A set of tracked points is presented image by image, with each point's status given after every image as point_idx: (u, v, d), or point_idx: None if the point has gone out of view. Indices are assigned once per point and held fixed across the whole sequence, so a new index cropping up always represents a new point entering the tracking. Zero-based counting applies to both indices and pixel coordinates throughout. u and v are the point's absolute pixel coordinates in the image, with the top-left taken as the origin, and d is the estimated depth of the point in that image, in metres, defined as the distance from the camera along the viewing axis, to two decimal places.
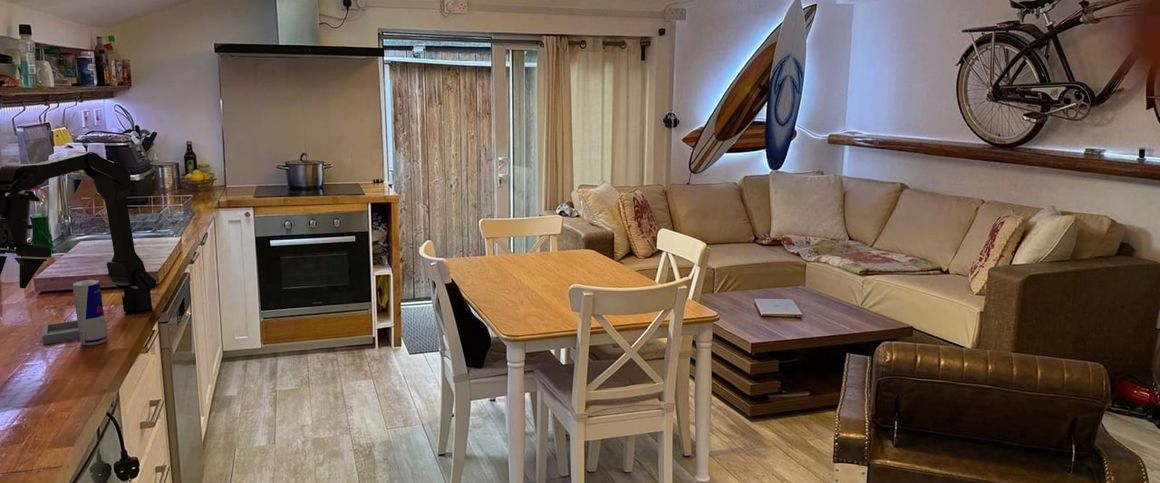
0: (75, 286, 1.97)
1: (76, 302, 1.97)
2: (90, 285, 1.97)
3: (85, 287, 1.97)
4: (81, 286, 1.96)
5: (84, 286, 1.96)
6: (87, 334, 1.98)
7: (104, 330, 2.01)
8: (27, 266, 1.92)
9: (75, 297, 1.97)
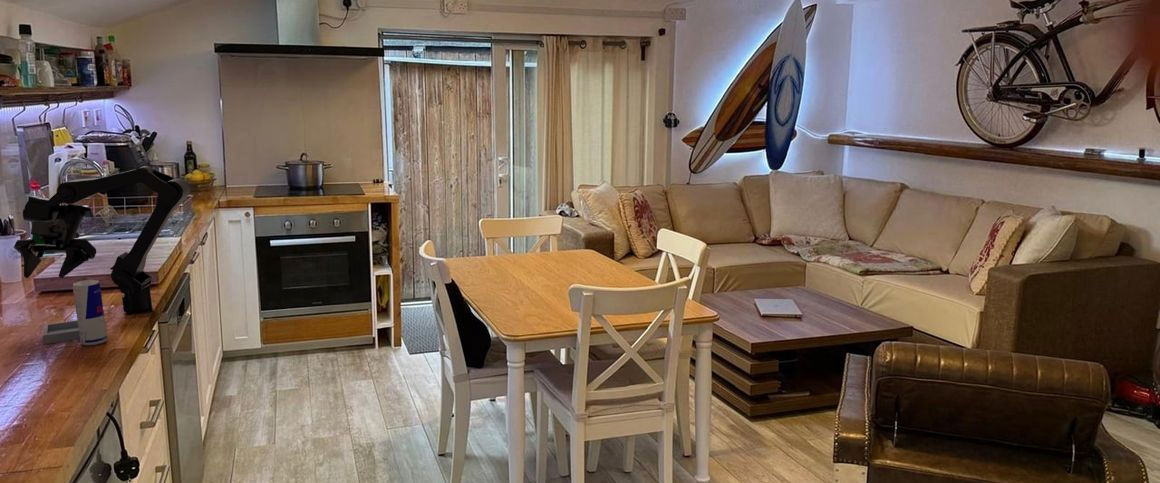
0: (75, 286, 1.97)
1: (76, 302, 1.97)
2: (90, 285, 1.97)
3: (85, 287, 1.97)
4: (81, 286, 1.96)
5: (84, 286, 1.96)
6: (87, 334, 1.98)
7: (104, 330, 2.01)
8: (71, 259, 2.13)
9: (75, 297, 1.97)
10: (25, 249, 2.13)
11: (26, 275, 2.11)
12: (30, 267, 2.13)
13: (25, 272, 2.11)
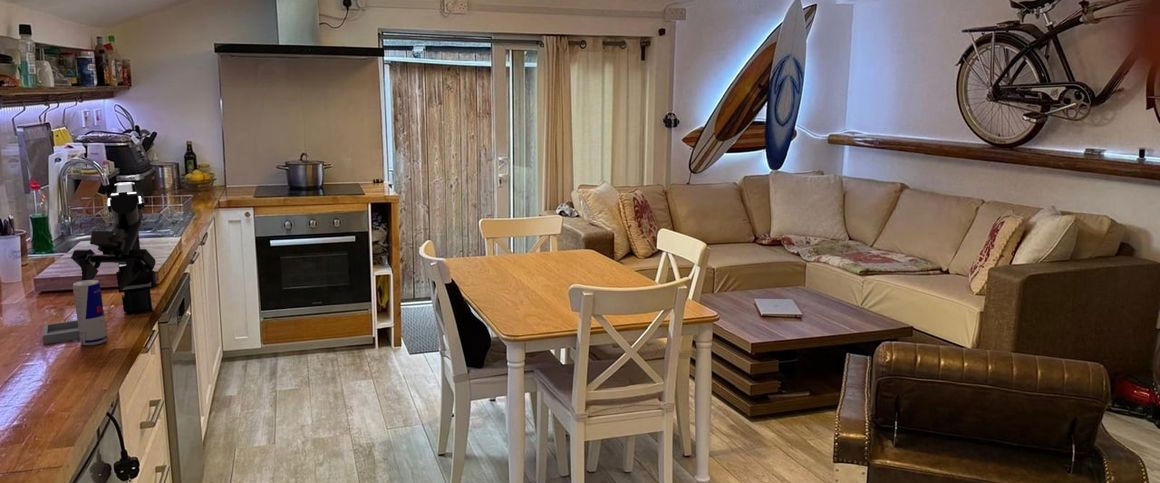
0: (75, 286, 1.97)
1: (76, 302, 1.97)
2: (90, 285, 1.97)
3: (85, 287, 1.97)
4: (81, 286, 1.96)
5: (84, 286, 1.96)
6: (87, 334, 1.98)
7: (104, 330, 2.01)
8: (131, 270, 2.07)
9: (75, 297, 1.97)
10: (83, 259, 2.06)
11: None
12: (88, 278, 2.06)
13: None
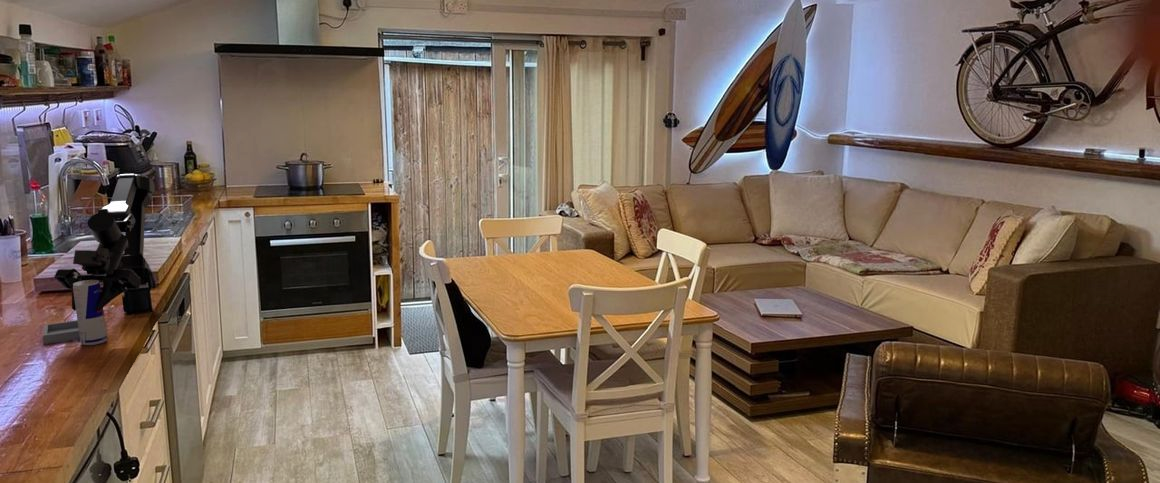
0: (75, 286, 1.97)
1: (76, 302, 1.97)
2: (90, 285, 1.97)
3: (85, 287, 1.97)
4: (81, 286, 1.96)
5: (84, 286, 1.96)
6: (87, 334, 1.98)
7: (104, 330, 2.01)
8: (109, 290, 2.01)
9: (75, 297, 1.97)
10: (73, 279, 2.00)
11: (74, 307, 1.99)
12: None
13: (73, 304, 1.99)
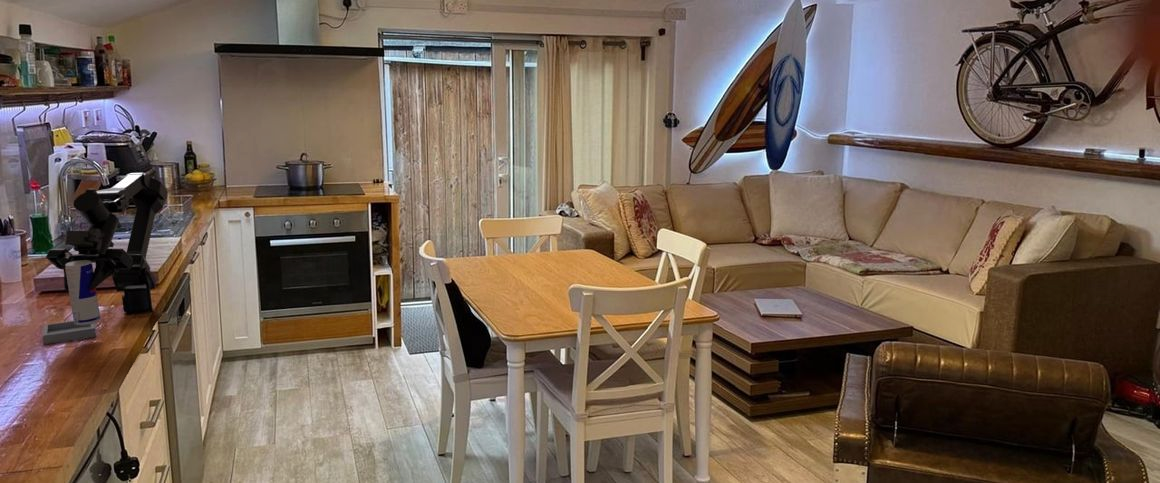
0: (68, 266, 1.98)
1: (69, 282, 1.98)
2: (83, 265, 1.98)
3: (78, 267, 1.98)
4: (74, 266, 1.97)
5: (77, 266, 1.98)
6: (80, 314, 2.00)
7: (97, 310, 2.03)
8: (101, 270, 2.02)
9: (68, 277, 1.98)
10: (65, 259, 2.01)
11: (67, 287, 2.00)
12: None
13: (66, 284, 2.00)
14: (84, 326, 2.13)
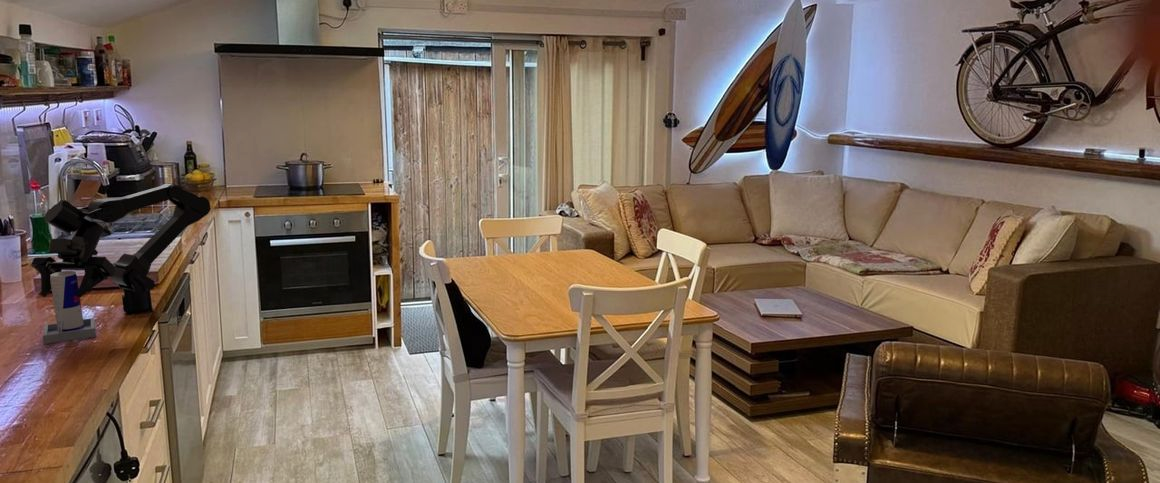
0: (52, 277, 2.03)
1: (53, 292, 2.04)
2: (67, 276, 2.04)
3: (62, 278, 2.04)
4: (58, 277, 2.03)
5: (61, 277, 2.03)
6: (64, 323, 2.05)
7: (81, 319, 2.08)
8: (90, 278, 2.07)
9: (52, 287, 2.04)
10: (43, 267, 2.07)
11: (43, 294, 2.06)
12: (48, 285, 2.07)
13: (42, 291, 2.06)
14: (84, 326, 2.13)
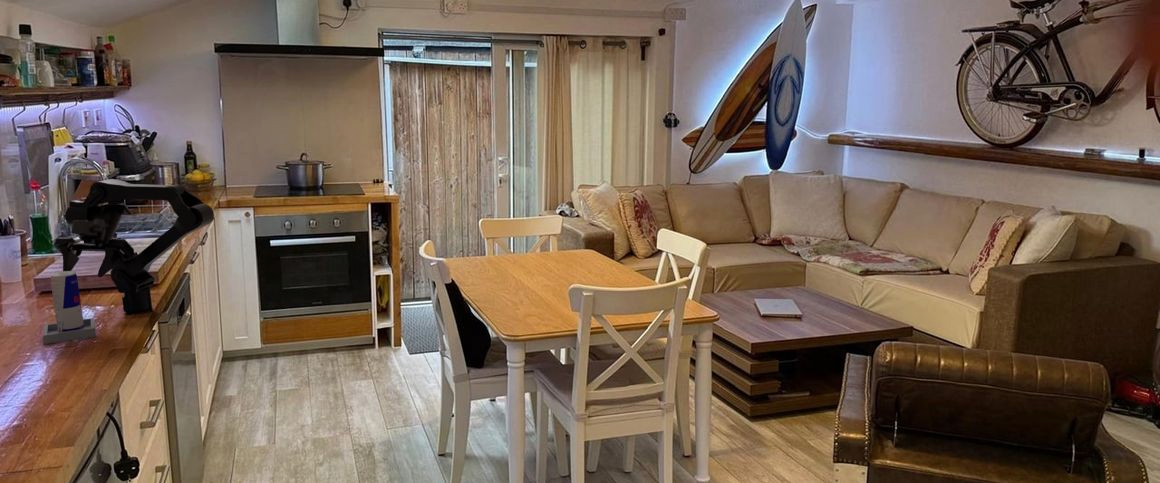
0: (53, 277, 2.04)
1: (54, 292, 2.04)
2: (67, 276, 2.04)
3: (62, 278, 2.04)
4: (58, 277, 2.03)
5: (61, 277, 2.03)
6: (64, 323, 2.05)
7: (81, 319, 2.08)
8: (110, 259, 2.16)
9: (52, 287, 2.04)
10: (64, 247, 2.15)
11: None
12: (69, 265, 2.15)
13: (64, 270, 2.14)
14: (84, 326, 2.13)
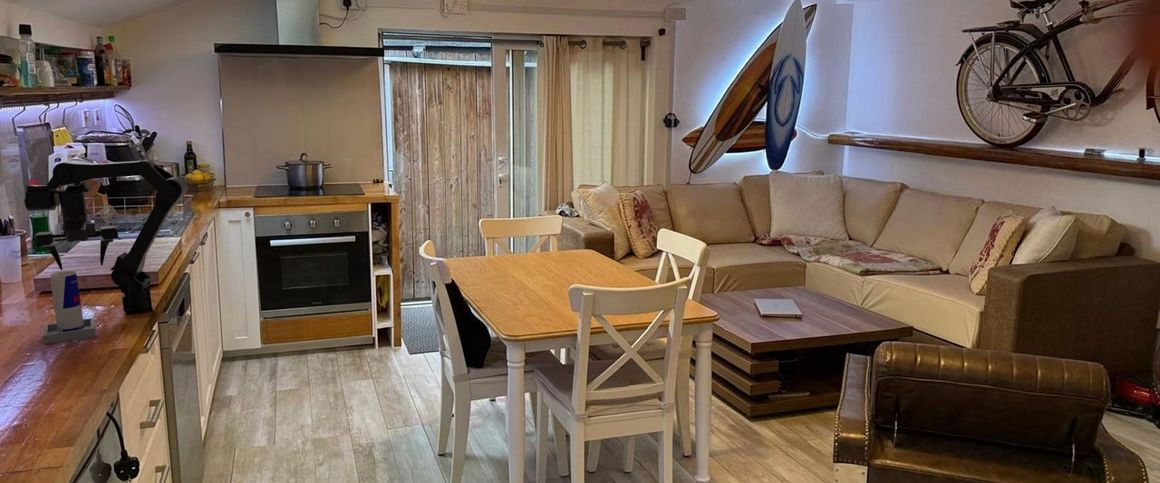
0: (52, 277, 2.04)
1: (53, 292, 2.04)
2: (67, 276, 2.04)
3: (62, 278, 2.04)
4: (58, 277, 2.03)
5: (61, 277, 2.03)
6: (64, 323, 2.05)
7: (81, 319, 2.08)
8: None
9: (52, 287, 2.04)
10: (53, 247, 2.17)
11: None
12: None
13: (60, 266, 2.20)
14: (84, 326, 2.13)
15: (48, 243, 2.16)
